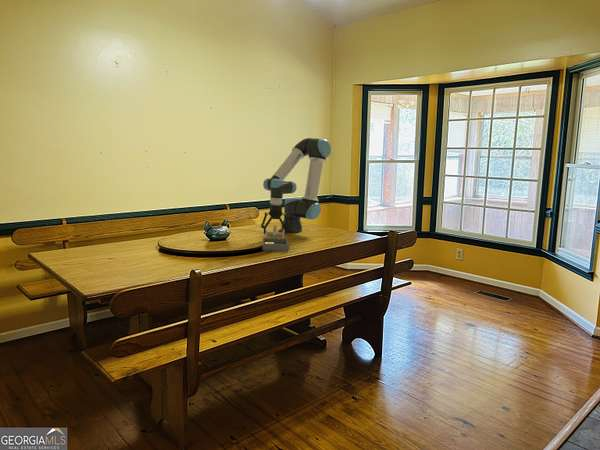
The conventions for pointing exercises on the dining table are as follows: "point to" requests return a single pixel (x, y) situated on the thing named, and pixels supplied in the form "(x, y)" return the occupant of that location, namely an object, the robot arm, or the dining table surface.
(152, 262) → the dining table surface
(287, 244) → the tray
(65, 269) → the dining table surface
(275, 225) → the pipe connector
